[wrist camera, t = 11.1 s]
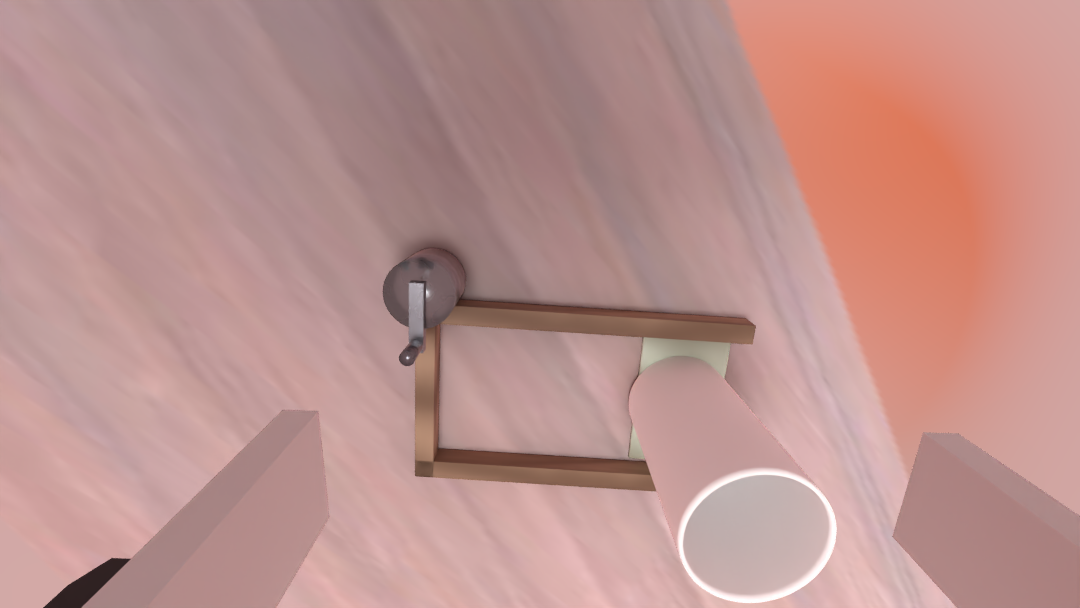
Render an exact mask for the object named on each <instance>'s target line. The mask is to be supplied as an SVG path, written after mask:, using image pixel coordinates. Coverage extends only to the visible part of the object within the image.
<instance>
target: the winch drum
mask: <svg viewBox="0 0 1080 608" xmlns="http://www.w3.org/2000/svg"><path fill="white" fill-rule="evenodd" d="M465 286H466V275H465V271H464V269H463V266H462V265H461V263H460V262H459V260H458V259H457V258H456V257H455V256H454V255H452V254H451V253H449V252H447V251H445V250H442V249H438V248H427V249H423V250H420V251H418V252H417V253H415V254H413V255H412V256H410V257H409V258H407V259H405V260H404V261H402V262H401V263H399V264H398V265H396V266H395V267H394V268H393V269H392V270H391V271H390V272H389V273H388V275H387V277H386V279H385V282H384V286H383V298H384V302H385V305H386V307H387V309H388V311H389V312H390V314H391V315H392V316H393V317H394V318H395V319H396V320H397V321H399V322H400V323H401V324H403V325H405V326H408V327H409V344H408V345H407V347H406V348H405V349H404V350H403V352H402V353H401V354H400V356H399V361H400V363H401V364H403V365H405V366H410V365H412V364H413V363H414V361H415V360H416V358H417V357H418V355H419V354H420V353H424V351H425V350H426V329H428V328H432V327H434V326H437V325H439V324H440V323H442V322H443V321H444V320H445V319H446V318H447V317H448V316H449V315H450V313H451V312H452V310H453V309H454V307H455V305H456V304H457V302H458V301H459V299H460V298H461V296H462V295H463V293H464V290H465Z"/></svg>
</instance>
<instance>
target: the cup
mask: <svg viewBox="0 0 1080 608" xmlns="http://www.w3.org/2000/svg"><path fill="white" fill-rule="evenodd" d="M628 405H629V413H630V417H631V420H632V423H633V426H634V428H635V431H636V434H637V437H638V440H639V443H640V446H641V448H642V451H643V454H644V457H645V460H646V463H647V465H648V468H649V471H650V474H651V477H652V480H653V483H654V485H655V488H656V491H657V494H658V497H659V500H660V502H661V505H662V508H663V511H664V514H665V517H666V520H667V522H668V525H669V528H670V531H671V534H672V536H673V539H674V542H675V545H676V548H677V551H678V553H679V556H680V559H681V561H682V563H683V565H684V567H685V569H686V571H687V572H688V574H689V575H690V577H691V578H692V579H693V580H694V581H695V582H696V583H697V584H698V585H699V586H700V587H701V588H703V589H704V590H706V591H707V592H709V593H711V594H713V595H715V596H717V597H719V598H722V599H725V600H729V601H734V602H742V603H758V602H766V601H771V600H775V599H778V598H781V597H784V596H787V595H789V594H791V593H793V592H795V591H797V590H799V589H800V588H802V587H803V586H805V585H806V584H808V583H809V582H810V581H811V580H812V579H813V578H814V577H816V576H817V575H818V573H819V572H820V571H821V570H822V569H823V567H824V566H825V565H826V563H827V561H828V560H829V558H830V556H831V554H832V551H833V548H834V545H835V541H836V533H837V530H836V520H835V516H834V513H833V510H832V508H831V506H830V504H829V502H828V501H827V499H826V497H825V496H824V495H823V493H822V492H821V491H820V489H819V488H818V487H817V486H816V485H815V484H814V482H813V481H812V480H811V479H810V478H809V477H808V475H807V474H806V473H805V472H804V471H803V470H802V468H801V467H800V466H799V465H798V464H797V463H796V462H795V460H794V459H793V458H792V457H791V456H790V455H789V453H788V452H787V451H786V450H785V449H784V448H783V447H782V445H781V444H780V443H779V442H778V441H777V440H776V438H775V437H774V436H773V435H772V434H771V433H770V431H769V430H768V429H767V428H766V427H765V426H764V425H763V423H762V422H761V421H760V420H759V419H758V418H757V416H756V415H755V414H754V413H753V412H752V411H751V410H750V408H749V407H748V406H747V405H746V404H745V403H744V401H743V400H742V399H741V398H740V397H739V396H738V395H737V393H736V392H735V391H734V390H733V389H732V388H731V386H730V385H729V384H728V383H727V382H726V381H725V380H724V378H723V377H722V376H721V375H720V374H719V373H718V372H717V370H716V369H715V368H713V367H712V366H711V365H709V364H708V363H706V362H704V361H702V360H700V359H697V358H694V357H688V356H674V357H669V358H665V359H662V360H660V361H657V362H655V363H654V364H652V365H650V366H649V367H648V368H646V369H645V370H644V371H643V372H642V373H641V374H640V375H639V376H638V378H637V379H636V381H635V382H634V384H633V386H632V389H631V391H630V395H629V403H628Z"/></svg>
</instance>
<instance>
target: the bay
mask: <svg viewBox="0 0 1080 608" xmlns="http://www.w3.org/2000/svg"><path fill="white" fill-rule="evenodd" d="M440 324H449V325H464V326H479V327H494V328H510V329H525V330H540V331H555V332H571V333H586V334H601V335H616V336H631V337H643V342H642V350H641V358H640V366H639V374H638V376H639V375H640V374H641V373H642V372H643V371H644V370H645V369H646V368H648V367H649V366H650V365H652V364H654V363H655V362H657V361H660V360H662V359H665V358H669V357H674V356H688V357H694V358H697V359H700V360H702V361H704V362H706V363H708V364H709V365H711V366H712V367H713V368H715V369H716V370H717V372H718V373H719V374H720V375H721V376H722V377H723V378H724V379H725V373H726V368H727V362H728V356H729V351H730V345H731V343H738V344H753V339H754V333H755V328H756V326H755V325H754V324H753V323H751V322H750V321H748V320H747V319H746V318H732V317H716V316H701V315H686V314H671V313H656V312H641V311H626V310H611V309H596V308H580V307H565V306H550V305H535V304H520V303H505V302H490V301H475V300H460V299H459V301H458V302H457V304H456V305H455V307H454V309H453V310H452V312H451V313H450V315H449V316H448V317H447V318H446V319H445V320H444V321H443V322H442V323H440ZM440 324H439V325H437V326H434V327H432V328H428V329H426V350H425V351H424V353H420V354H419V355H418V357H417V358H416V360H415V476H420V477H436V478H452V479H468V480H484V481H500V482H516V483H532V484H547V485H563V486H579V487H595V488H611V489H627V490H643V491H656V488H655V485H654V483H653V480H652V477H651V474H650V471H649V468H648V465H647V463H646V462H643V461H628V460H612V459H596V458H580V457H564V456H549V455H533V454H517V453H501V452H486V451H470V450H454V449H438V431H439V363H440ZM628 457H629V458H637V459H645V457H644V454H643V451H642V448H641V446H640V443H639V440H638V437H637V434H636V431H635V428H634V426H633V423H632V429H631V437H630V445H629V453H628Z"/></svg>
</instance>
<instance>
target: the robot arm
mask: <svg viewBox="0 0 1080 608" xmlns="http://www.w3.org/2000/svg"><path fill="white" fill-rule="evenodd" d="M329 517H330V516H329V507H328V497H327V488H326V479H325V469H324V460H323V450H322V441H321V432H320V422H319V413H318V411H301V410H282V411H281V412H280V413H279V414H278V415H277V416H276V417H275V418H274V419H273V420H272V421H271V422H270V423H269V424H268V425H267V426H266V427H265V428H264V429H263V430H262V431H261V432H260V433H259V434H258V435H257V436H256V437H255V438H254V439H253V440H252V441H251V442H250V443H249V444H248V445H247V446H246V447H245V448H244V449H243V450H241V451H240V452H239V453H238V454H237V455H236V456H235V457H234V458H233V459H232V460H231V461H230V462H229V463H228V464H227V465H226V466H225V467H224V468H223V469H222V470H221V471H220V472H219V473H218V474H217V475H216V476H215V477H214V478H213V479H212V480H211V481H210V482H209V483H208V484H207V485H206V486H205V487H204V488H203V489H202V490H201V491H200V492H199V493H198V494H197V495H196V496H195V497H194V498H193V499H192V500H191V501H190V502H189V503H188V504H186V505H185V506H184V507H183V508H182V509H181V510H180V511H179V512H178V513H177V514H176V515H175V516H174V517H173V518H172V519H171V520H170V521H169V522H168V523H167V524H166V525H165V526H164V527H163V528H162V529H161V530H160V531H159V532H158V533H157V534H156V535H155V536H154V537H153V538H152V539H151V540H150V541H149V542H148V543H147V544H146V545H145V546H144V547H143V548H142V549H141V550H140V551H139V552H138V553H137V554H136V555H135V556H134V557H133V558H131V559H120V558H111V559H110V560H108V561H106V562H105V563H103V564H101V565H100V566H98V567H97V568H95V569H93V570H92V571H90V572H89V573H87V574H85V575H84V576H82V577H81V578H79V579H77V580H76V581H74V582H72V583H71V584H69V585H68V586H67V587H65V588H64V589H63V590H62V591H61V592H60V593H59V594H58V595H57V596H56V597H55V598H53V599H52V600H51V601H50V602H49V603H48V604H47V605H46V606H45V607H43V608H276V607H277V605H278V604H279V602H280V600H281V598H282V597H283V595H284V593H285V592H286V590H287V588H288V587H289V585H290V583H291V582H292V580H293V578H294V576H295V575H296V573H297V571H298V570H299V568H300V566H301V565H302V563H303V561H304V559H305V558H306V556H307V554H308V553H309V551H310V549H311V548H312V546H313V544H314V543H315V541H316V539H317V537H318V536H319V534H320V532H321V531H322V529H323V527H324V526H325V524H326V522H327V521H328V519H329ZM892 537H893V538H894V539H895V540H896V541H897V542H898V543H899V544H900V545H901V546H902V548H903V549H904V550H905V551H906V552H907V553H908V554H909V555H910V556H911V557H912V559H913V560H914V561H915V562H916V563H917V564H918V565H919V566H920V567H921V568H922V570H923V571H924V572H925V573H926V574H927V575H928V576H929V577H930V578H931V579H932V581H933V582H934V583H935V584H936V585H937V586H938V587H939V588H940V589H941V590H942V592H943V593H944V594H945V595H946V596H947V597H948V598H949V599H950V600H951V601H952V603H953V604H954V605H955V606H956V607H957V608H1080V516H1079V515H1078V514H1076V513H1075V512H1073V511H1072V510H1070V509H1069V508H1067V507H1066V506H1064V505H1063V504H1062V503H1060V502H1059V501H1057V500H1056V499H1054V498H1053V497H1051V496H1050V495H1048V494H1047V493H1045V492H1044V491H1042V490H1041V489H1039V488H1038V487H1036V486H1035V485H1033V484H1032V483H1031V482H1029V481H1027V480H1026V479H1025V478H1023V477H1022V476H1020V475H1019V474H1017V473H1016V472H1014V471H1013V470H1011V469H1010V468H1008V467H1007V466H1005V465H1004V464H1002V463H1001V462H999V461H998V460H997V459H995V458H994V457H992V456H990V455H989V454H988V453H986V452H985V451H983V450H982V449H980V448H979V447H977V446H976V445H974V444H973V443H971V442H970V441H968V440H967V439H965V438H964V437H962V436H961V435H959V434H952V433H925V432H924V433H923V435H922V438H921V442H920V445H919V448H918V452H917V455H916V458H915V462H914V465H913V469H912V472H911V475H910V479H909V482H908V486H907V489H906V492H905V496H904V499H903V503H902V506H901V509H900V513H899V516H898V519H897V523H896V526H895V530H894V533H893V536H892Z"/></svg>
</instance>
